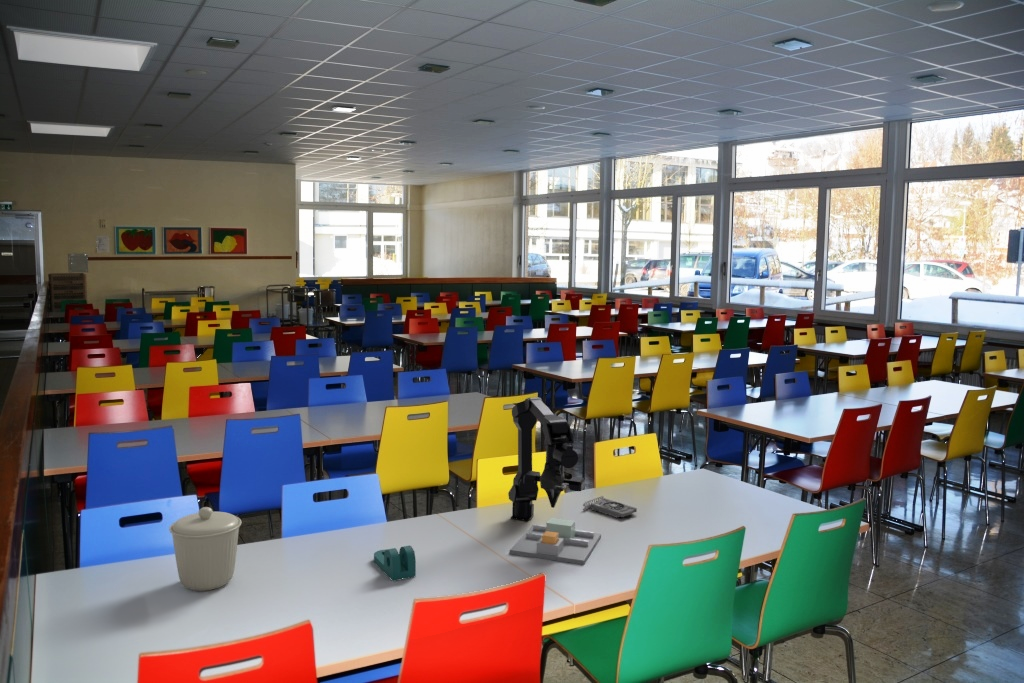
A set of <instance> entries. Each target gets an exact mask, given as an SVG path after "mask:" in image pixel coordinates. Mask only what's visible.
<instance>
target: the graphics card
mask: <svg viewBox="0 0 1024 683" xmlns="http://www.w3.org/2000/svg"><path fill="white" fill-rule="evenodd" d="M582 507H583V508H582V511H583V510H584V511H587V510H586V509H590V510H591V511H592V510H594V509H595V510H594V512H595V511H598V512H599V513H601V512H602V514H604V513H605V515H607V514H609V515H608V516H611V515H612V516H611V517H615V518H617V517H618V518H620V517H621V518H624V517H626V516H629V515H630V516H631V515H632V514H634V513H637V511H638V510H637V507H634V506H631V505H628V504H625V503H622V502H619V501H615V500H613V499H609V498H605V497H604V495H600V496H598V497H596V498H592V499H589V500H587V501H584V503H583V504H582ZM592 508H593V509H592Z"/></svg>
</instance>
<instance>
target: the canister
mask: <svg viewBox="0 0 1024 683" xmlns="http://www.w3.org/2000/svg"><path fill="white" fill-rule="evenodd" d="M241 525H242V520H241V518H240V517H239V516H236V515H234V514H232V513H229V512H225V511H213V509H212V508H211V507H208V506H204V507H201V508H200V509H199V510H198V512H196V513H192V514H187V515H185V516H183V517H181V518H179V519H177V520H176V521H174V522H173V523H172V524H170V526H169V528H168V531H169V533H171V535H172V542H173V548H174V556H175V562H176V568H177V574H178V578H179V582H180V583H181V585H182V586H183V587H184V588H186V589H187V590H190V591H191V590H192V591H195V592H196V591H197V592H198V591H199V592H201V591H202V592H203V591H204V592H205V591H210V590H216V589H219V588H221V587H224V586H226V585H227V584H228V583H229V582H231V580H232V578H233V576H234V573H235V570H236V569H235V568H236V567H235V566H236V561H237V560H236V558H237V551H238V542H239V540H238V539H239V532H240V531H239V530H240V527H241Z"/></svg>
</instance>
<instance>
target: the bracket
mask: <svg viewBox="0 0 1024 683" xmlns="http://www.w3.org/2000/svg"><path fill="white" fill-rule="evenodd" d="M416 560H417V559H416V553H415V551H414V548H413V547H412V545H405V546H401V547H400V548H399V551H398V549H397V548H396V547H394V548H389V549H388V548H387V549H379V550H378V551H375V552H374V553H373V562H374V564H375V563H376V564H377V565H378V566H379V567H380V568H381V569H382V570H383V571H384V572H385V573H386V574H387V575H388V576H389V577H390V578H391V579H392V580H396V581H398V580H397V579H401V580H403V579H402V578H406V579H409V578H408V577H412V578H415V577H416V572H417V571H416V569H417V568H416V564H417V562H416ZM376 564H375V565H376ZM377 565H376V566H377ZM379 567H378V568H379ZM380 568H379V569H380ZM381 569H380V570H381ZM382 570H381V571H382ZM383 571H382V572H383ZM384 572H383V573H384ZM385 573H384V574H385ZM386 574H385V575H386ZM387 575H386V576H387ZM388 576H387V577H388ZM414 576H415V577H414ZM389 577H388V578H389ZM390 578H389V579H390ZM391 579H390V580H391ZM392 580H391V581H392Z"/></svg>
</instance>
